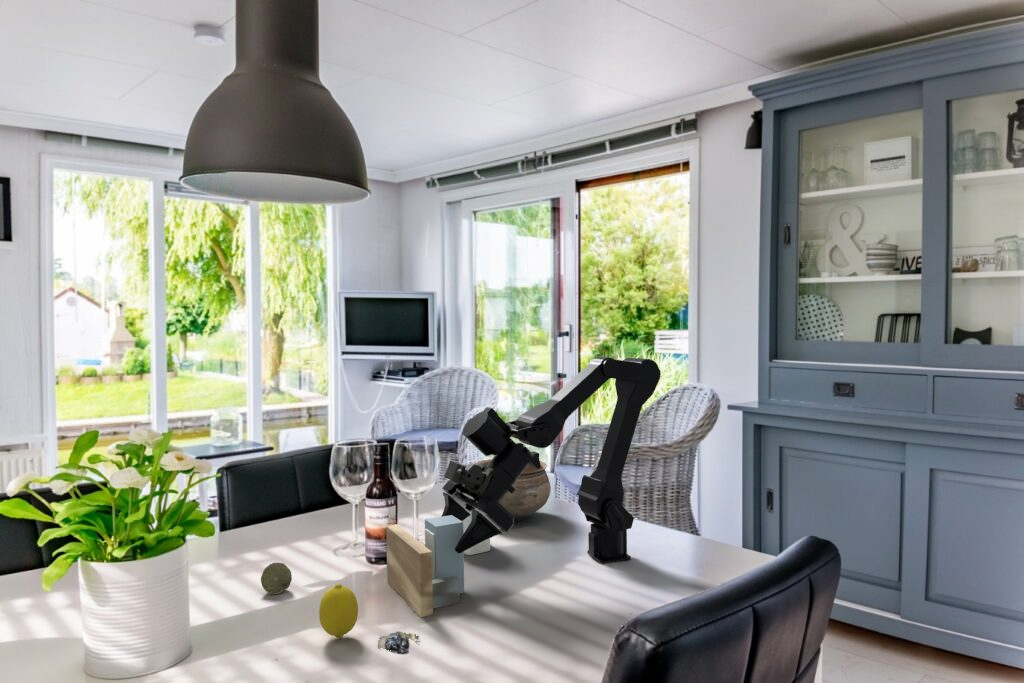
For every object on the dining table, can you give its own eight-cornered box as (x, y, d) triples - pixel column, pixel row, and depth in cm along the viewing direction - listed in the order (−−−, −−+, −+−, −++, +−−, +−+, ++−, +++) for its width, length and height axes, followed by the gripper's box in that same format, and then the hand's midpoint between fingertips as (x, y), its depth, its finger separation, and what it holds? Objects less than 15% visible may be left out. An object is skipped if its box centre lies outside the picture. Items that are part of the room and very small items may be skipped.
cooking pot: (452, 510, 173) (452, 459, 172) (523, 500, 181) (522, 452, 180) (494, 538, 150) (493, 480, 150) (572, 526, 158) (572, 471, 158)
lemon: (323, 631, 107) (322, 578, 107) (360, 629, 107) (359, 576, 107) (316, 648, 101) (315, 592, 101) (356, 646, 102) (354, 590, 102)
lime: (295, 591, 123) (295, 562, 123) (269, 599, 119) (268, 569, 119) (283, 584, 126) (282, 556, 126) (257, 592, 123) (256, 563, 122)
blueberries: (411, 632, 107) (411, 620, 107) (435, 653, 100) (435, 640, 100) (368, 644, 103) (368, 631, 103) (390, 667, 97) (390, 653, 97)
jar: (461, 558, 138) (460, 496, 138) (441, 547, 145) (440, 488, 145) (500, 549, 143) (499, 490, 143) (479, 539, 150) (478, 482, 150)
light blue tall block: (452, 582, 126) (451, 515, 125) (464, 592, 121) (463, 522, 121) (424, 588, 123) (423, 519, 123) (435, 598, 119) (434, 526, 118)
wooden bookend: (427, 574, 130) (426, 519, 130) (465, 607, 115) (464, 546, 114) (387, 581, 126) (386, 525, 126) (420, 617, 111) (419, 553, 111)
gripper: (451, 435, 132) (395, 503, 128) (495, 452, 116) (433, 530, 111) (490, 472, 136) (438, 539, 132) (539, 493, 120) (481, 571, 115)
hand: (446, 544), depth 122 cm, fingers open, 9 cm apart
